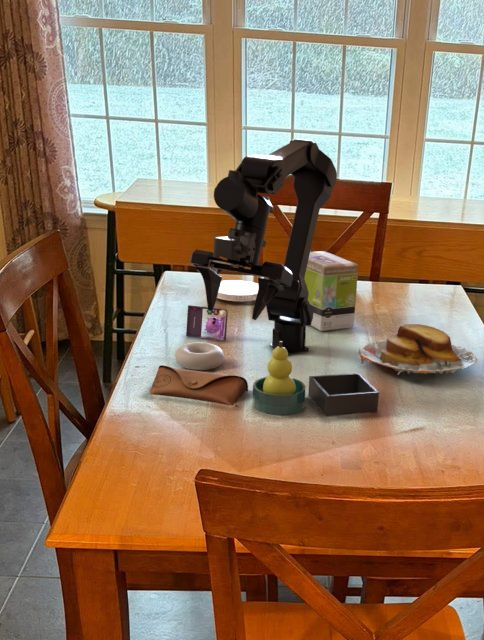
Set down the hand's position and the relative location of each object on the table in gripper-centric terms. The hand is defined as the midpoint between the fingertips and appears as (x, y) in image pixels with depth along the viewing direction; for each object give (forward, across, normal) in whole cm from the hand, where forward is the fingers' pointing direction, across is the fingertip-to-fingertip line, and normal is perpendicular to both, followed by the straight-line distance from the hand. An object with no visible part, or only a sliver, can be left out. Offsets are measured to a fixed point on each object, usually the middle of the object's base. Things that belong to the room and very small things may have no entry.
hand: (231, 315), depth 153 cm
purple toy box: (+2, -19, +28) cm, 34 cm away
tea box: (-9, -2, +50) cm, 51 cm away
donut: (+9, -12, +13) cm, 20 cm away
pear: (+14, +12, +2) cm, 19 cm away
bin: (+12, +22, +8) cm, 27 cm away
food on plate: (-2, +28, +36) cm, 45 cm away
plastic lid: (-12, -28, +55) cm, 63 cm away
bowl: (+15, +12, +2) cm, 19 cm away
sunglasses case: (+16, -4, 0) cm, 16 cm away
